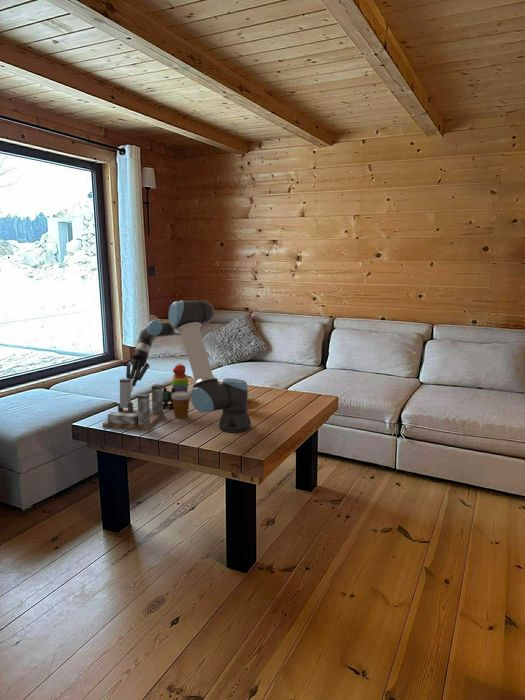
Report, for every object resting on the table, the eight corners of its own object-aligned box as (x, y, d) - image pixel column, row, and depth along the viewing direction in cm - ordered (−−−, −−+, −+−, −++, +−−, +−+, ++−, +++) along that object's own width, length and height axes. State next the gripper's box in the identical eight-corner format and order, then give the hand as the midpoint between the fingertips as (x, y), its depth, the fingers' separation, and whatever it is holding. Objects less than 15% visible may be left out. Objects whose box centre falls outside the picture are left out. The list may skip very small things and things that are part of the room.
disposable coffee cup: (194, 416, 243) (194, 393, 241) (178, 421, 236) (178, 397, 234) (183, 412, 250) (183, 390, 247) (167, 416, 243) (167, 393, 241)
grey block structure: (164, 415, 244) (163, 384, 241) (147, 430, 223) (146, 396, 220) (122, 412, 247) (120, 382, 244) (101, 427, 226) (99, 393, 223)
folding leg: (131, 406, 245) (130, 378, 244) (127, 408, 241) (127, 380, 240) (123, 405, 246) (123, 378, 244) (119, 407, 242) (119, 379, 240)
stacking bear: (171, 391, 288) (170, 362, 285) (188, 391, 290) (187, 362, 286) (171, 396, 277) (170, 366, 274) (188, 396, 279) (188, 366, 276)
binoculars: (156, 392, 250) (162, 385, 260) (157, 411, 253) (163, 404, 263) (173, 393, 249) (178, 386, 259) (174, 412, 252) (179, 404, 262)
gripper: (155, 357, 263) (143, 395, 250) (132, 356, 265) (120, 393, 252) (151, 349, 257) (139, 388, 244) (127, 348, 259) (114, 386, 246)
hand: (129, 391), depth 248 cm, fingers closed
